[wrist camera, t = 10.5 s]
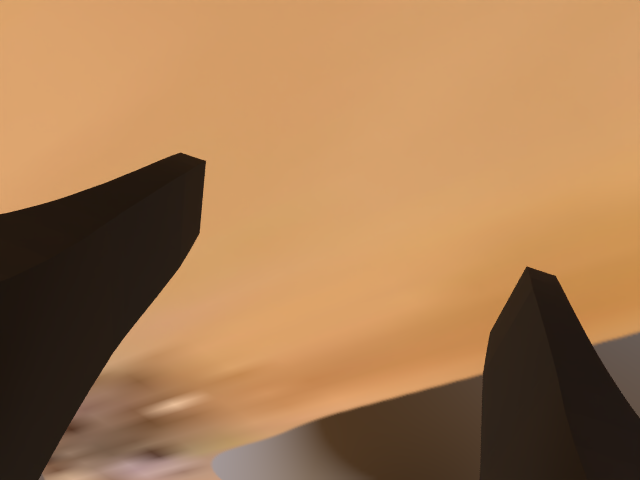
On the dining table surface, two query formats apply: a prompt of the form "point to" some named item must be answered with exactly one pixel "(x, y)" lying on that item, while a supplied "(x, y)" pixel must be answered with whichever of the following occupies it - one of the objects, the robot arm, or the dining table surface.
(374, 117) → the dining table surface
